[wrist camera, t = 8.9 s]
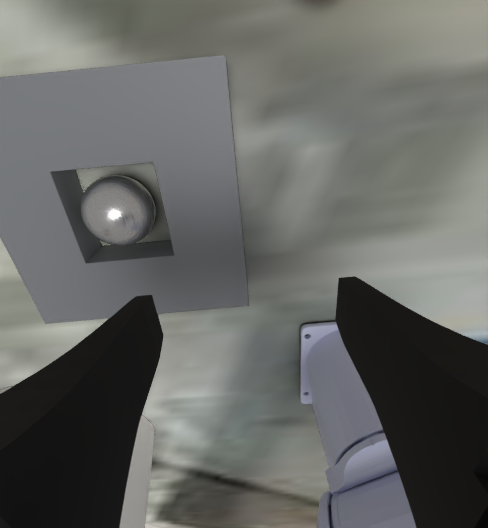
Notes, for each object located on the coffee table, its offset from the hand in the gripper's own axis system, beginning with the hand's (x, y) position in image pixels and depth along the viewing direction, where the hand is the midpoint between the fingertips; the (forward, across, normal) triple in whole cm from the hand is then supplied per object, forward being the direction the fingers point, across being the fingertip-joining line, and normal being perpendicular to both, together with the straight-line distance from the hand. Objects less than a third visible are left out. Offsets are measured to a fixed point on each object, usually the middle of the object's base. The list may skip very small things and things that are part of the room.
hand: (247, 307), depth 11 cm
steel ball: (+7, +7, -2) cm, 10 cm away
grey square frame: (+9, +7, -2) cm, 12 cm away
